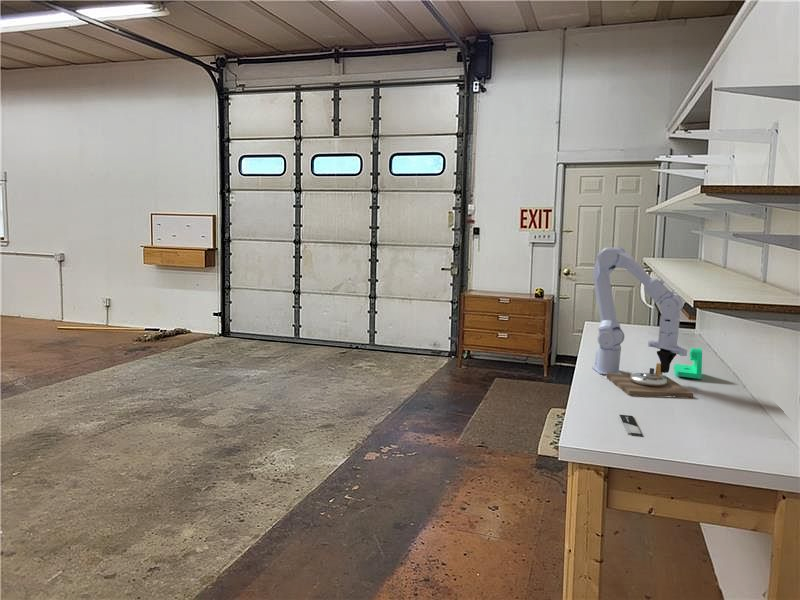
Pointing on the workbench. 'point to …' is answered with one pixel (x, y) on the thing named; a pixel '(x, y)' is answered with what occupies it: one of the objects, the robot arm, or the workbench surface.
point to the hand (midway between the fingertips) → (664, 372)
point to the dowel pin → (651, 371)
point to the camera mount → (693, 370)
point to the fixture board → (648, 387)
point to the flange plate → (650, 378)
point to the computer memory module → (631, 425)
